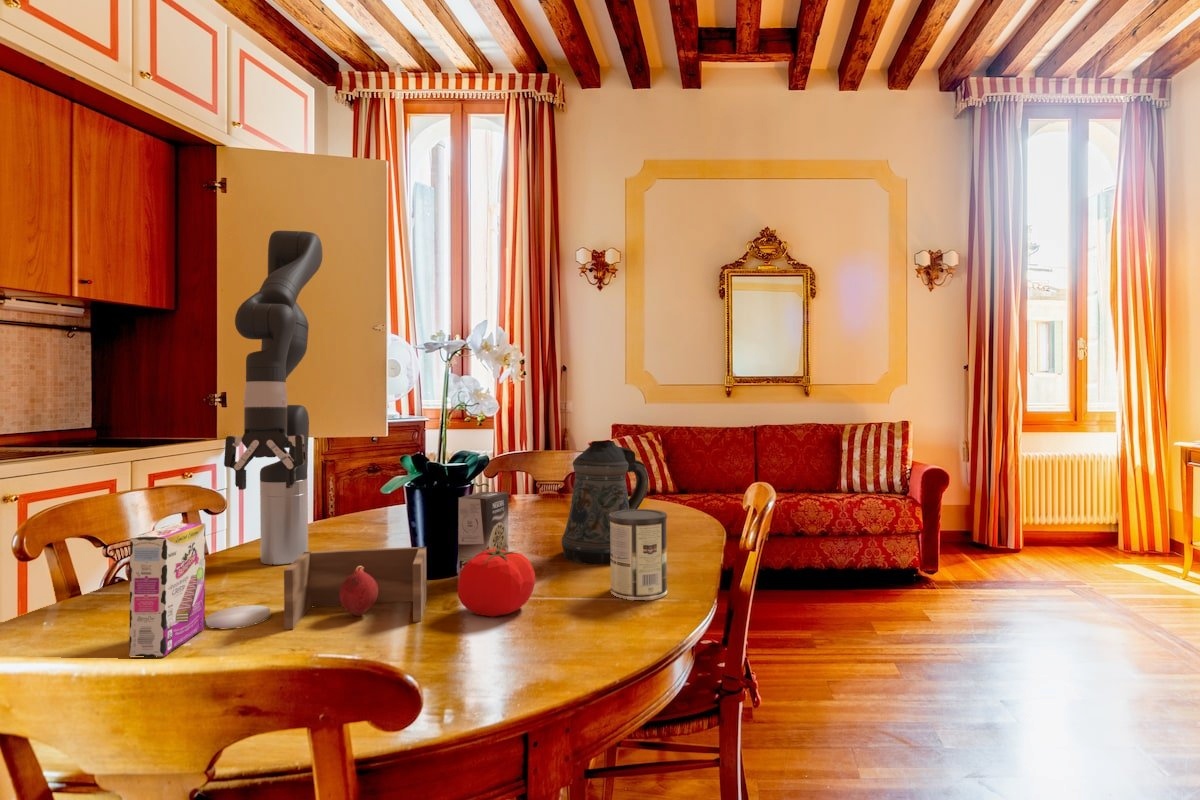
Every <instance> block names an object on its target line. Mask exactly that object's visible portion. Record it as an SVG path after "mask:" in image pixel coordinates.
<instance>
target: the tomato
mask: <svg viewBox="0 0 1200 800" xmlns="http://www.w3.org/2000/svg"><path fill="white" fill-rule="evenodd" d="M480 549H481V548H480ZM482 550H484V549H482ZM535 585H536V573H535V569H534V567H533V565H532V562H531V561H530V560H529V559H528V558H527V557H526V556H525V555H524V554H522V553H519V552H517V550H516V551H515V550H514V551H509V552H508V551H505V550H500V548H497V549H487V550H484V551H483V552H481V553H479V554H477V555H476V556H475V557H474V559H471V560H470V561H468V562H467V563H466V564H465V566H464V567H463V569H462V570H461V571H460V576H459V581H458V582H457V596H458V599H459V601H460V603H461V604H462V605H463V606H464V607H465V608H466V610H468V611H470V612H471V613H473V614H475V615H482V616H487V617H491V618H492V617H498V616H504V615H508V614H511V613H514V612H517V611H518V610H519V609H521V608H522V607H523V606H524V605H525V604H526V603H527V602H528V601H529V600H530V598H531V596H532V594H533V591H534V588H535Z"/></svg>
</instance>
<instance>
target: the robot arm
mask: <svg viewBox="0 0 1200 800" xmlns="http://www.w3.org/2000/svg"><path fill="white" fill-rule="evenodd" d="M322 261H323V246H322V241H321V239H320V237H319V235H317V234H316V233H315V232H312V231H311V232H310V231H301V230H275V231H273V232H272V233H271V234H270V236H269V240H268V246H267V277H266V278H265V279H264V281H263V282H262V285H261V286H260V288H259V290H258V291H256V292H255V293H254V294H253V295H251V296H249V297H248V298H247V299H245V300H244V302H242V303H241V305H240V306H239V307H238V309H237V310H236V313H235V316H234V317H235V318H234V325H235V329H236V331H237V332H238V334H239V335H240V336H241V337H242V338H245V339H247V340H261V348H260V349H261V350H258V351H253V352H249V353H248V354H247V355H246V359H245V388H244V396H243V397H244V399H243V406H244V407H243V408H244V409H243V411H244V412H243V414H244V416H243V417H244V418H243V421H244V423H243V425H244V426H243V428H244V429H243V432H244V433H243V435H242V436H236V435H227V436H226V437H225V443H224V445H225V446H224V459H223V460H224V461H223V466H224V467H225V468H230V469H233V470H234V472H235V473H234V477H235V478H234V483H235V484H234V485H235V487H236V488H238V490H239V491H243V490H246V489H247V469H245V468H246V467H247V465H248V464H250V462H251V461H252V460H253V459H254V458H264V457H265V458H276V457H277V458H278V459H279V461H276V462H273V463H271V464H270V463H269V464H266V465H264V466H263V467H261V468H260V471H259V489H260V492H259V496H260V498H259V501H260V502H259V503H260V505H259V507H260V509H259V510H260V515H259V516H260V563H261V564H265V565H272V564H273V565H288V564H289V565H290V564H292V563H293V562H294V561H295V560H296V559H297V558H298V557H299V556H300V555H301V554H303V553H304V552H309V507H308V506H309V502H308V500H309V499H308V498H309V497H308V494H309V493H308V489H309V488H308V466H309V459H308V458H309V456H308V455H309V453H308V452H309V437H310V436H309V435H310V417H309V413H308V410H307V409H306V407H305V406H303V405H300V404H288V391H287V378H288V377H289V375H291V373H293V371H294V370H295V369H296V367H297V366H298V365H299V364H300V362H301V361H302V360H303V358H304V357H305V356H306V353H307V350H308V340H309V321H308V319H307V316H306V314H305V312H304V311H303V309H302V308H301V306H300V305H299V303H298V302H297V299H298V298H299V295H300V293H301V291H302V289H303V288H304V287H305V286H306V285H307V284H308V282H309V281H310V280H311V279H312V278H313V277H314V275H315V274H317V272H318V270H319V269H320V267H321V265H322ZM241 443H242V444H243V446H244V447H245V448H246V450H245V451H244V452H243V453H242V455H241V456H240V457H239V459H238V460H237V458H236V457H237V448H238V447H239V446H240V444H241ZM287 449H288V451H287ZM236 460H237V461H236Z"/></svg>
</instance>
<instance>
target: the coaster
mask: <svg viewBox="0 0 1200 800" xmlns="http://www.w3.org/2000/svg"><path fill="white" fill-rule="evenodd" d="M205 617H206V618H205V626H206V625H207V626H209V627H214V628H235V629H238V628H237V627H242V628H244V627H243V626H247V627H249V626H248V625H251V626H253V625H252V624H255V623H258V624H260V623H259V622H261V621H263V620H265V619H267V618H268V619H270V617H271V608H270V607H268V606H265V605H259V604H258V605H257V604H256V605H255V604H251V605H250V604H249V605H239V606H233V607H228V608H224V609H219V610H217V611H214V612H212V613H210V614H208V615H207V616H205ZM268 619H267V620H268ZM265 621H266V620H265ZM263 622H264V621H263ZM261 623H262V622H261ZM255 625H256V624H255ZM207 626H206V627H207ZM209 627H208V628H209Z"/></svg>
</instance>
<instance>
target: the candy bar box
mask: <svg viewBox="0 0 1200 800" xmlns="http://www.w3.org/2000/svg"><path fill="white" fill-rule="evenodd" d="M206 526H207V525H206V523H199V522H198V523H197V522H192V523H191V522H188V523H187V522H183V523H180V522H179V523H171V524H169V525H167V526H163V527H160V528H157V529H154V530H151V531H148V532H144V533H142V534H139V535H135V536H133V537H130V538H129V545H130V547H129V629H128V630H129V633H128V634H129V640H128V641H129V644H128V645H129V649H128V651H129V653H128V657H129V656H144V657H129V658H132V659H133V658H136V659H137V658H141V659H143V658H144V659H145V658H146V659H147V658H148V659H149V658H163V657H166V656H168V655H169V654H170V653H172V652H174V651H175V650H176V649H178V648H179V647H180V646H179V645H181V644H182V643H183V644H185V643H186V642H188V641H189V640H191V639H192V638H194V637H195V636H196V635H195V634H197V633H198V634H199V632H200V631H201V630H203V629H204V628H205V626H206V618H205V617H206V616H205V613H206V612H205V611H206V610H205V609H206V608H205V606H206V603H205V602H206V599H205V598H206V595H205V594H206V592H205V591H206V582H205V581H206ZM204 630H205V629H204ZM204 630H203V631H204ZM201 632H202V631H201ZM201 632H200V633H201ZM198 634H197V635H198ZM194 635H195V636H194ZM193 636H194V637H193ZM191 637H192V638H191ZM190 638H191V639H190ZM188 639H189V640H188ZM187 640H188V641H187ZM185 641H186V642H185ZM184 642H185V643H184ZM183 644H182V645H183ZM182 645H181V646H182ZM178 646H179V647H178ZM177 647H178V648H177ZM175 648H176V649H175ZM174 649H175V650H174ZM171 651H172V652H171ZM169 652H170V653H169ZM168 653H169V654H168ZM165 655H166V656H165ZM156 656H157V657H156Z"/></svg>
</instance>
